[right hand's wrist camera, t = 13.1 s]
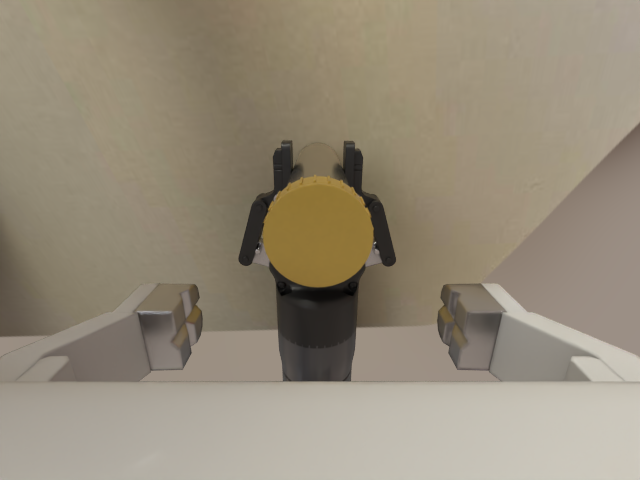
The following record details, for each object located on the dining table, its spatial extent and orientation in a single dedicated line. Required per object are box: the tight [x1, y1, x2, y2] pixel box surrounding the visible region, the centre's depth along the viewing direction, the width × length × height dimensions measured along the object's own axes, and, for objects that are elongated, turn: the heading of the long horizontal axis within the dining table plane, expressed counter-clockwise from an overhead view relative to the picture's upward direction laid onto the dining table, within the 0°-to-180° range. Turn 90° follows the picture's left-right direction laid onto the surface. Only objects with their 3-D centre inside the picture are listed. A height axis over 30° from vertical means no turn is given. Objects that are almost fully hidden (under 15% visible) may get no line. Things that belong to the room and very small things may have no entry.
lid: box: [263, 175, 374, 287], centre depth 16 cm, size 5×5×2 cm
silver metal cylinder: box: [286, 143, 350, 187], centre depth 24 cm, size 4×4×19 cm
